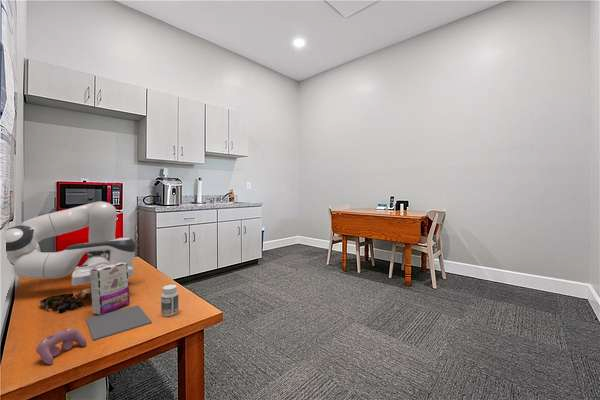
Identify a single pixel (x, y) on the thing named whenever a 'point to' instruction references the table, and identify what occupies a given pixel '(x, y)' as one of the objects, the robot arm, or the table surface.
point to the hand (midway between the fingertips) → (107, 279)
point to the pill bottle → (169, 300)
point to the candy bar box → (109, 287)
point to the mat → (116, 322)
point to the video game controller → (66, 336)
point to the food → (66, 301)
